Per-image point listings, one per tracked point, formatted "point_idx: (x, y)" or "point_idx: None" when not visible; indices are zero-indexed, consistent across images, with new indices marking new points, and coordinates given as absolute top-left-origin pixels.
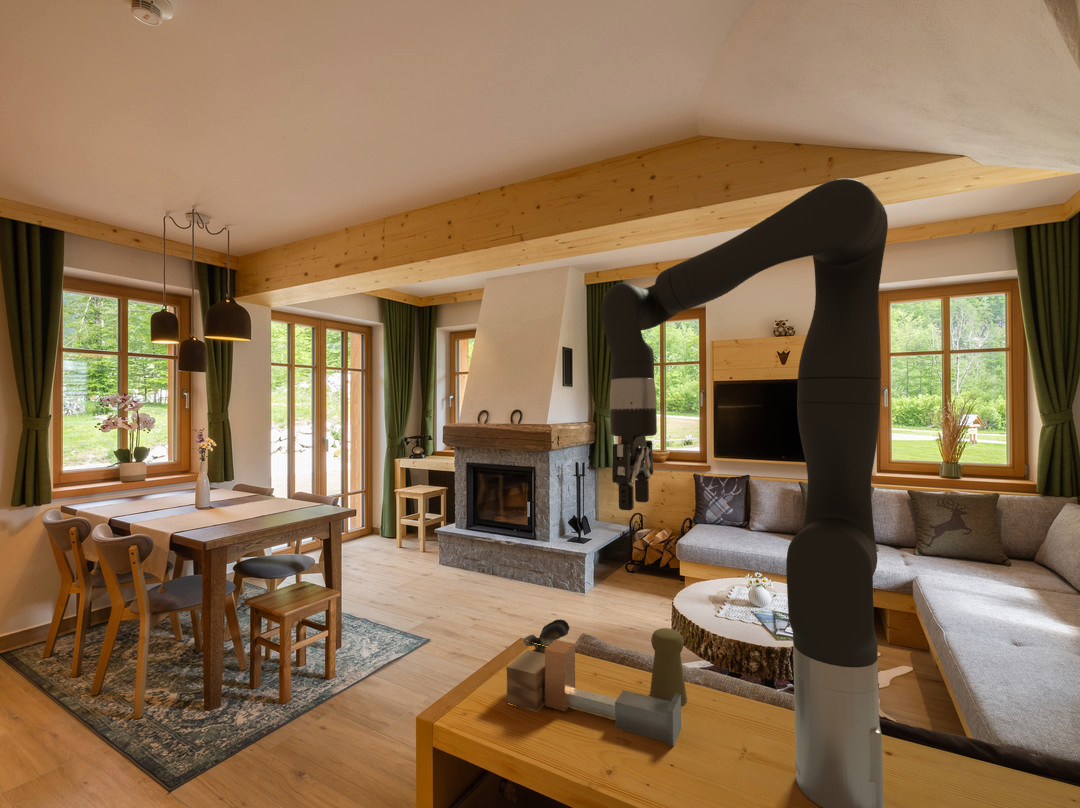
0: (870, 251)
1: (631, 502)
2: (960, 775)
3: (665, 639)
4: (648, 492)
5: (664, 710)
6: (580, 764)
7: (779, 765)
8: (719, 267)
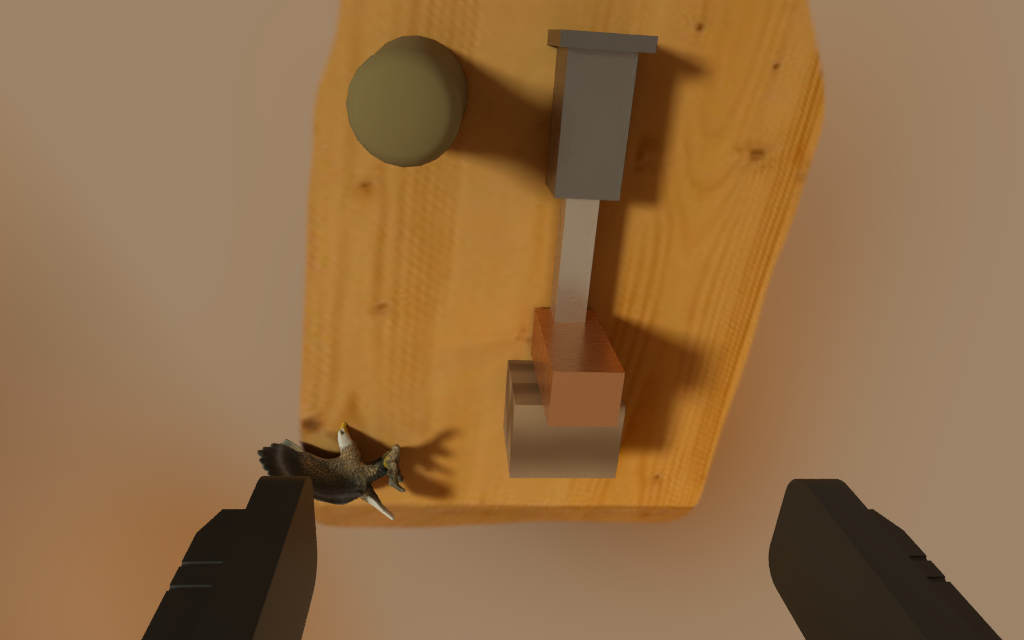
0: None
1: (871, 524)
2: None
3: (453, 108)
4: (249, 538)
5: (619, 66)
6: (749, 215)
7: None
8: None
